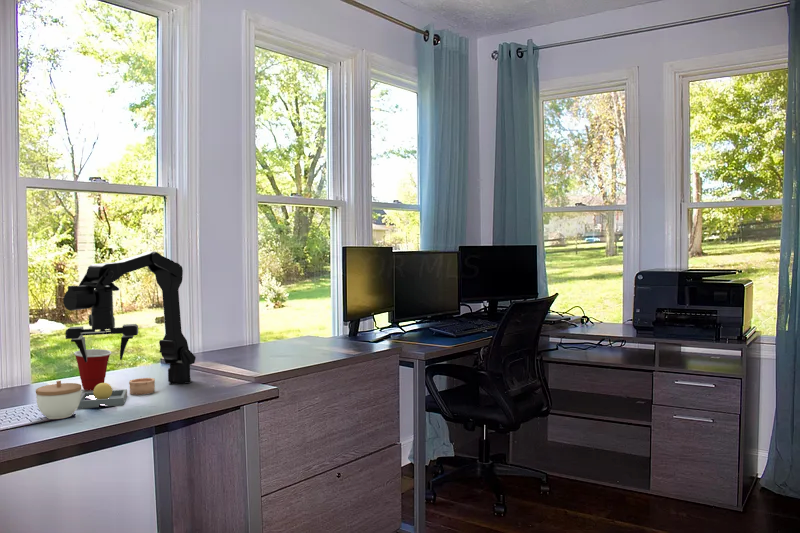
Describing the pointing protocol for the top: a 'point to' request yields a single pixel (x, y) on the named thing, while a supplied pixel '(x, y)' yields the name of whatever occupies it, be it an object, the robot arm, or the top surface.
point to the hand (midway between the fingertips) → (103, 361)
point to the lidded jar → (58, 399)
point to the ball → (102, 391)
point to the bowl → (142, 386)
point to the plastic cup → (92, 367)
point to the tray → (114, 400)
